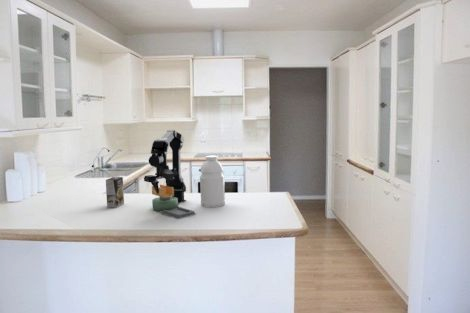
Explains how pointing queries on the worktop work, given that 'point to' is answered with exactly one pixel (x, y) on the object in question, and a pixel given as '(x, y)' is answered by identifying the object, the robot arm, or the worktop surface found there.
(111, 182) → the coffee box
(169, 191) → the chute
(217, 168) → the bottle
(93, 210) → the worktop surface
